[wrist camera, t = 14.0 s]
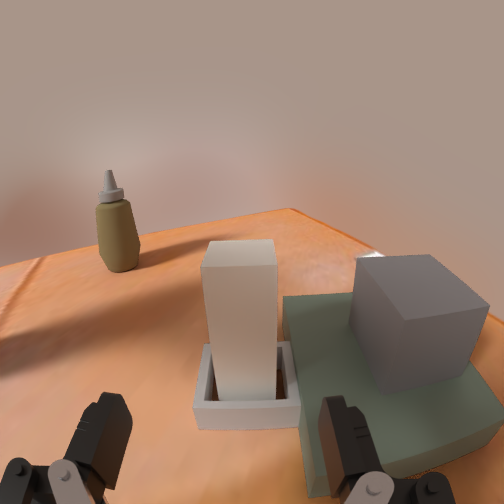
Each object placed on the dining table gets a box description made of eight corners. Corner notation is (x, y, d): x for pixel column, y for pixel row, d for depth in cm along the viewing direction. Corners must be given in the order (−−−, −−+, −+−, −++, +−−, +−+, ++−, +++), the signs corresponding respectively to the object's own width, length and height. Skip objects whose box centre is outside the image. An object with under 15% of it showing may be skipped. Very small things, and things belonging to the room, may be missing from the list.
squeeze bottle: (121, 279, 48) (103, 173, 42) (95, 270, 52) (78, 175, 45) (152, 261, 55) (139, 165, 48) (124, 255, 58) (112, 167, 52)
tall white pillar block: (221, 414, 23) (200, 267, 18) (224, 378, 28) (210, 241, 22) (275, 413, 23) (277, 264, 18) (272, 377, 27) (272, 239, 22)
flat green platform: (189, 499, 15) (143, 412, 11) (213, 327, 36) (204, 240, 32) (486, 444, 15) (550, 344, 11) (402, 314, 36) (417, 234, 32)
